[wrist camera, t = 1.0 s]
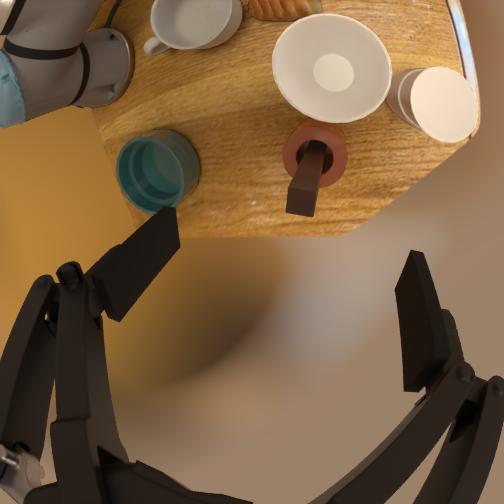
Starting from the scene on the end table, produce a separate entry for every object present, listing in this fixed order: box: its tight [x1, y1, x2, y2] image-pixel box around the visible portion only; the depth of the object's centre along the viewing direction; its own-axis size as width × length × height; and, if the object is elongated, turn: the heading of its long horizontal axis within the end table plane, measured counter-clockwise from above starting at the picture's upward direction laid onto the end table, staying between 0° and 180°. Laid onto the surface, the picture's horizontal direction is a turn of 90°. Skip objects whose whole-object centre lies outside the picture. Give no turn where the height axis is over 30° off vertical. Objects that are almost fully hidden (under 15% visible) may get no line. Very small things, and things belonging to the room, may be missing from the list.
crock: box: [283, 118, 347, 188], centre depth 32 cm, size 7×7×9 cm
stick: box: [286, 140, 327, 217], centre depth 27 cm, size 2×2×20 cm
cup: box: [272, 13, 392, 123], centre depth 24 cm, size 10×10×14 cm
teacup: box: [143, 0, 242, 56], centre depth 26 cm, size 14×11×8 cm
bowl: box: [116, 129, 200, 214], centre depth 42 cm, size 13×13×6 cm
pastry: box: [248, 0, 323, 21], centre depth 24 cm, size 9×7×4 cm
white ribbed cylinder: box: [386, 67, 478, 143], centre depth 22 cm, size 7×7×15 cm
